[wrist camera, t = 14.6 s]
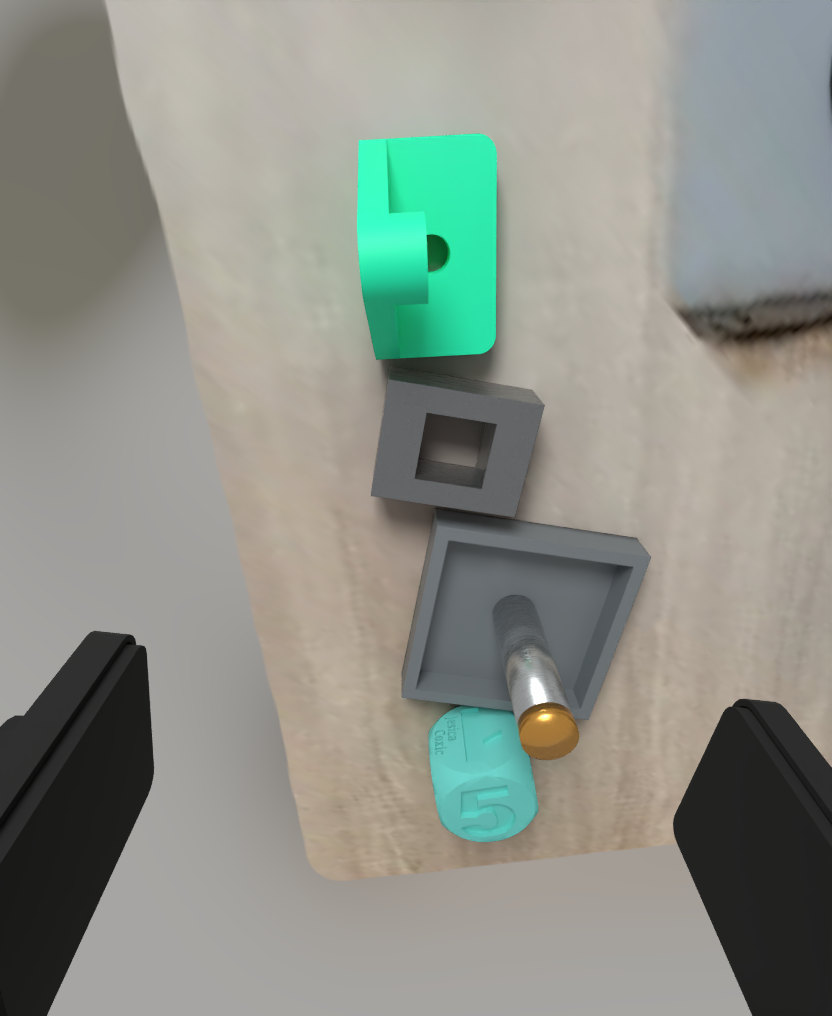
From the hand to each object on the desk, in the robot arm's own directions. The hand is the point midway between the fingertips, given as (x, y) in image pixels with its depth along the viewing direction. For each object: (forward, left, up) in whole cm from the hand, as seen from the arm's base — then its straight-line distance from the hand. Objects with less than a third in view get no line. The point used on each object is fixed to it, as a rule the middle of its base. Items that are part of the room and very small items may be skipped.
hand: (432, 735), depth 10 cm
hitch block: (-4, +5, -34) cm, 34 cm away
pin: (-12, +19, -33) cm, 40 cm away
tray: (-12, +19, -34) cm, 41 cm away
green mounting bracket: (0, -6, -34) cm, 35 cm away
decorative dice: (-12, +33, -34) cm, 49 cm away
